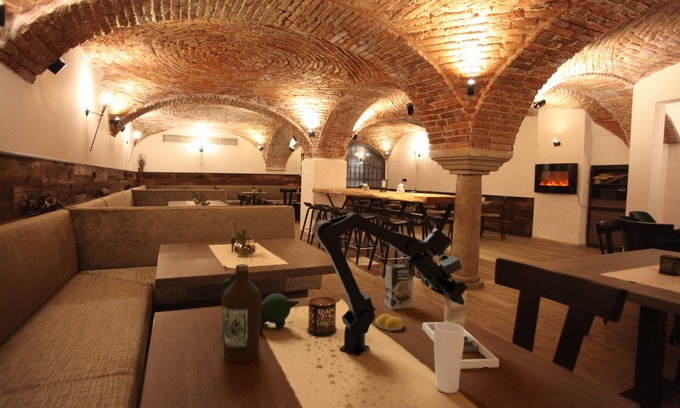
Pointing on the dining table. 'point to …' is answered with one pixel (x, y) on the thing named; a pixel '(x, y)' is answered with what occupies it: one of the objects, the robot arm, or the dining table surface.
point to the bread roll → (389, 322)
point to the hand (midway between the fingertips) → (459, 301)
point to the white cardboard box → (398, 286)
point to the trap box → (468, 349)
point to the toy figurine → (270, 306)
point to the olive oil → (241, 318)
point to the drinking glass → (448, 355)
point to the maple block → (455, 311)
